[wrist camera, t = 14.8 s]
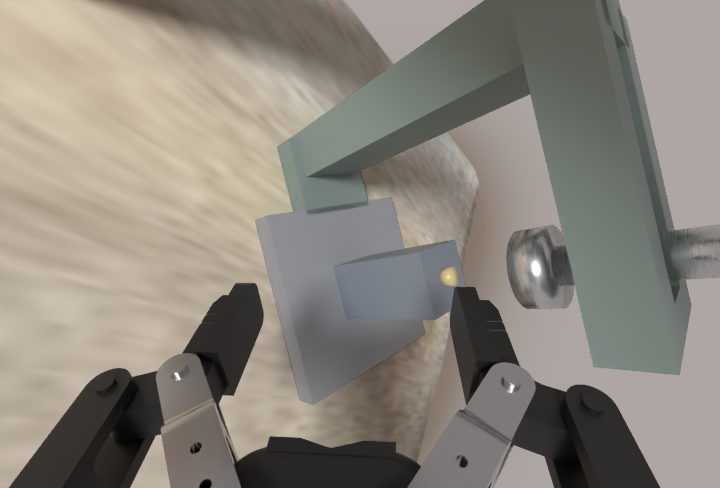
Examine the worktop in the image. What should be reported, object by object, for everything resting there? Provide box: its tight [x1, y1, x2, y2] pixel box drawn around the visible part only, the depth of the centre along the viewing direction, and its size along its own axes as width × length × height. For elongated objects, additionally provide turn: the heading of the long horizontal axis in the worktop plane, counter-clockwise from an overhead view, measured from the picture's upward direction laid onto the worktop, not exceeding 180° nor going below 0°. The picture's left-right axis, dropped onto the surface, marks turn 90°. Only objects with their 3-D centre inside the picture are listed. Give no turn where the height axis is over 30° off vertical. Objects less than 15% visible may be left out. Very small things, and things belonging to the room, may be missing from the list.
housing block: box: [333, 240, 466, 320], centre depth 30 cm, size 5×5×11 cm
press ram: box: [507, 224, 720, 309], centre depth 16 cm, size 5×5×16 cm
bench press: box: [255, 0, 691, 405], centre depth 26 cm, size 23×16×25 cm
